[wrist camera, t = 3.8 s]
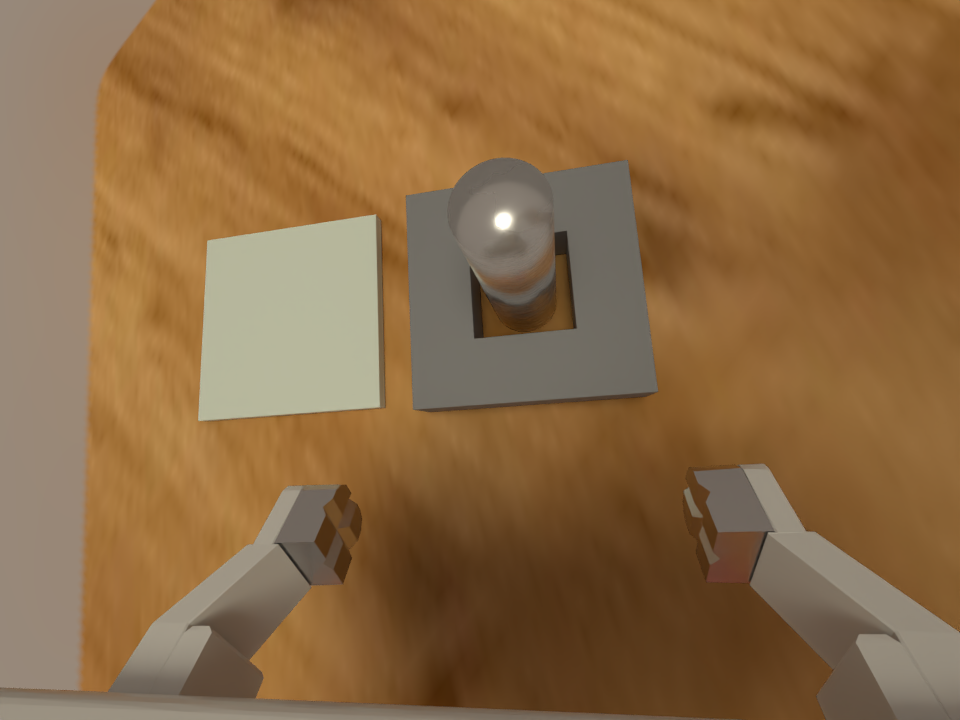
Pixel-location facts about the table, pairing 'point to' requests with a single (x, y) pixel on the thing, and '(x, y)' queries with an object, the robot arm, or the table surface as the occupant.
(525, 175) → the peg
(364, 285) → the pad
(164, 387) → the table surface
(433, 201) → the square socket
